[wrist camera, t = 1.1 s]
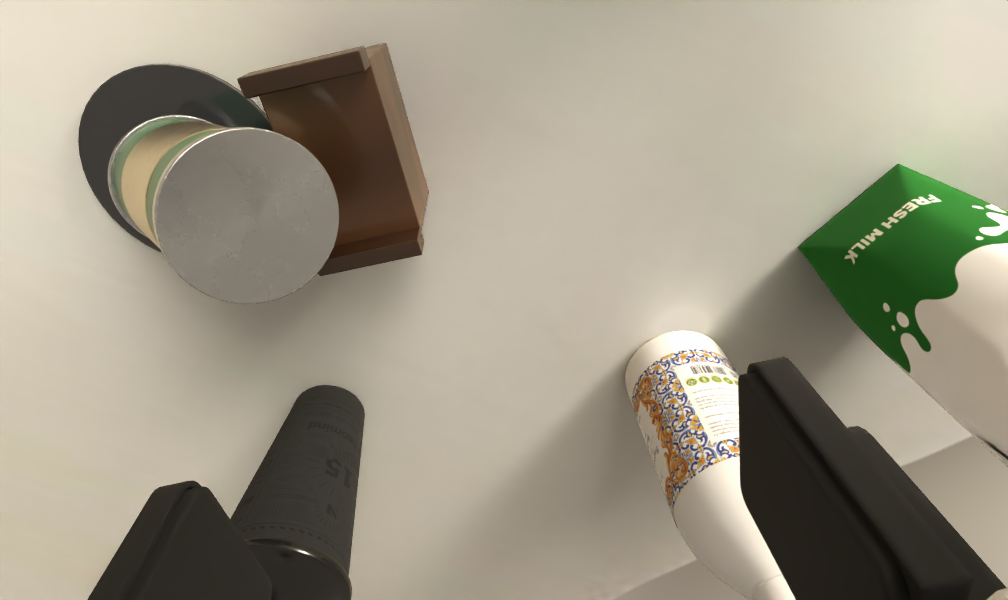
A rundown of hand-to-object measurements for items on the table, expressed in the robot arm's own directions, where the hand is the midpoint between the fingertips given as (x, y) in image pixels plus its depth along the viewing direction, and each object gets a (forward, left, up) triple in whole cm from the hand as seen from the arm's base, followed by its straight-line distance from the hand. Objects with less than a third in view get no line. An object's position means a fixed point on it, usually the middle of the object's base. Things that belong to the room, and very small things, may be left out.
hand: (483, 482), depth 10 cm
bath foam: (+19, +10, -25) cm, 32 cm away
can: (-1, -12, -18) cm, 21 cm away
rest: (-1, -6, -24) cm, 25 cm away
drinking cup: (+17, -14, -25) cm, 33 cm away
